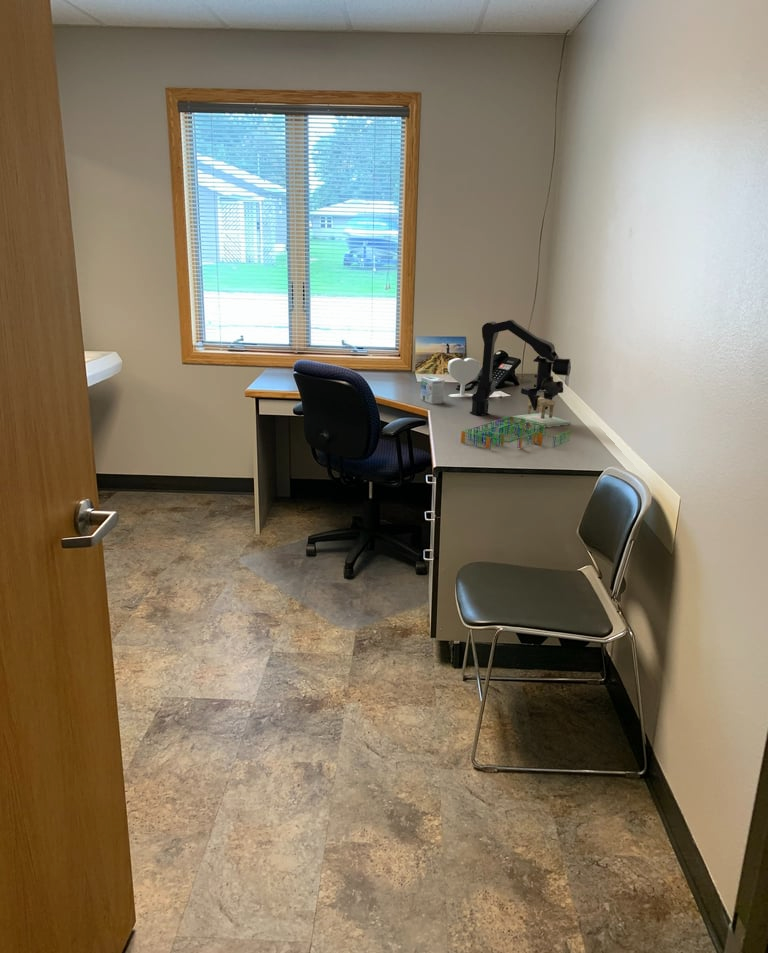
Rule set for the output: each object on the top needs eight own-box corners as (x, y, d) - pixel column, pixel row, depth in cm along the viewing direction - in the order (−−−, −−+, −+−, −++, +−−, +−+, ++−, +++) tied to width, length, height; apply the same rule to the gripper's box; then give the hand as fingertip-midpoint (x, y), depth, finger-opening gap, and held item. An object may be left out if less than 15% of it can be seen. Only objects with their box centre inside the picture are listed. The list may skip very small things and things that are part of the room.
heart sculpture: (475, 394, 368) (477, 357, 362) (478, 396, 363) (481, 359, 358) (445, 394, 364) (447, 357, 359) (448, 397, 360) (450, 359, 354)
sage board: (537, 428, 305) (537, 426, 305) (509, 419, 320) (509, 416, 319) (570, 424, 314) (570, 421, 313) (541, 415, 328) (541, 412, 328)
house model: (507, 427, 308) (508, 415, 307) (573, 440, 290) (574, 428, 289) (458, 442, 283) (459, 430, 281) (527, 459, 265) (529, 446, 263)
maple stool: (526, 413, 319) (528, 397, 316) (537, 412, 321) (538, 396, 319) (542, 419, 310) (544, 402, 308) (553, 417, 313) (555, 401, 311)
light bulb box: (419, 399, 352) (420, 376, 349) (432, 398, 355) (433, 375, 352) (431, 404, 343) (432, 380, 340) (443, 403, 346) (445, 380, 343)
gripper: (539, 378, 299) (536, 416, 304) (574, 375, 308) (570, 412, 313) (521, 373, 308) (518, 410, 313) (555, 370, 317) (552, 406, 322)
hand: (540, 409), depth 315 cm, fingers closed on maple stool, 6 cm apart
